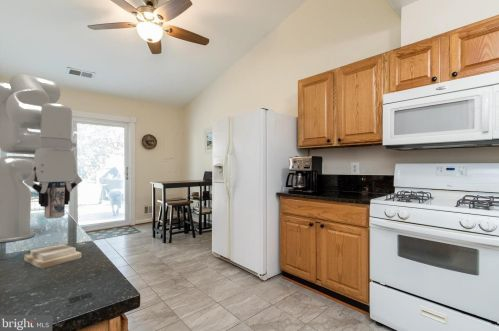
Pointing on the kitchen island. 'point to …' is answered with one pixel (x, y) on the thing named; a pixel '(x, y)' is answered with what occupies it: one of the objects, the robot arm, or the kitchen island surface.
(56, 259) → the stacking base
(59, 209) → the beer can
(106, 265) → the kitchen island surface
